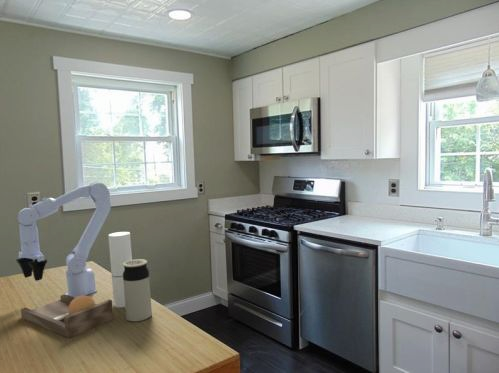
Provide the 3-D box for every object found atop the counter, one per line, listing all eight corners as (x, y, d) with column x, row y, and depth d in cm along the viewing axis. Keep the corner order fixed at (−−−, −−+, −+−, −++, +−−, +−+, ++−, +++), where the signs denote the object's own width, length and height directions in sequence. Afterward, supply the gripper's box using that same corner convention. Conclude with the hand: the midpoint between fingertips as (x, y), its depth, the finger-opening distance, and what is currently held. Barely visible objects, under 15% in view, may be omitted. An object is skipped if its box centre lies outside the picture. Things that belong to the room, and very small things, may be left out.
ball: (102, 296, 122) (100, 320, 123) (84, 289, 126) (82, 312, 126) (81, 303, 115) (79, 329, 116) (63, 296, 118) (61, 321, 119)
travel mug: (138, 324, 117) (133, 267, 115) (120, 319, 121) (116, 264, 120) (157, 314, 124) (153, 260, 122) (140, 310, 128) (136, 257, 126)
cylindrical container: (139, 300, 136) (134, 232, 134) (125, 308, 130) (119, 236, 128) (124, 298, 139) (118, 231, 137) (109, 305, 133) (103, 235, 131)
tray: (65, 302, 138) (63, 286, 138) (113, 318, 122) (111, 300, 122) (21, 317, 126) (19, 300, 126) (68, 338, 110) (66, 318, 109)
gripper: (8, 241, 137) (12, 278, 139) (28, 245, 129) (31, 284, 130) (28, 237, 143) (32, 273, 144) (48, 241, 135) (52, 278, 136)
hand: (33, 278), depth 138 cm, fingers open, 7 cm apart
